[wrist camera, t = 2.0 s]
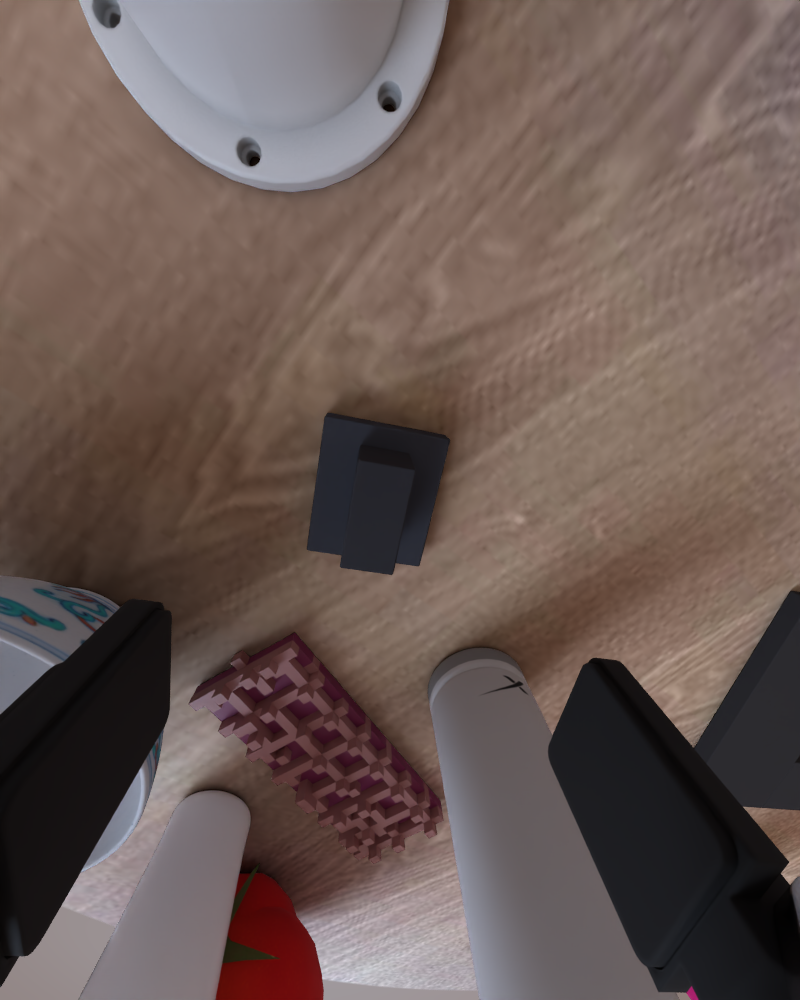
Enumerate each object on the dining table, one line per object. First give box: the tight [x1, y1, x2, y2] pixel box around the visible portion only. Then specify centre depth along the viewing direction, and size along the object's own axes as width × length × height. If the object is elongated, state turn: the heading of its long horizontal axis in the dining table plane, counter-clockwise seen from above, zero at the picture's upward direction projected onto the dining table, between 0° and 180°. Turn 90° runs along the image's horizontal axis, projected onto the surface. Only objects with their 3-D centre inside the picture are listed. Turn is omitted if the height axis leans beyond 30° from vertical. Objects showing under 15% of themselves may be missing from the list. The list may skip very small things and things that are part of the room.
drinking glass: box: [78, 790, 251, 1000], centre depth 21 cm, size 7×7×15 cm
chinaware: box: [0, 575, 164, 873], centre depth 18 cm, size 15×15×8 cm
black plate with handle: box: [307, 413, 450, 575], centre depth 18 cm, size 7×6×4 cm
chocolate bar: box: [189, 633, 444, 864], centre depth 25 cm, size 7×19×2 cm, turn 30°
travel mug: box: [428, 648, 680, 1000], centre depth 16 cm, size 6×7×20 cm
